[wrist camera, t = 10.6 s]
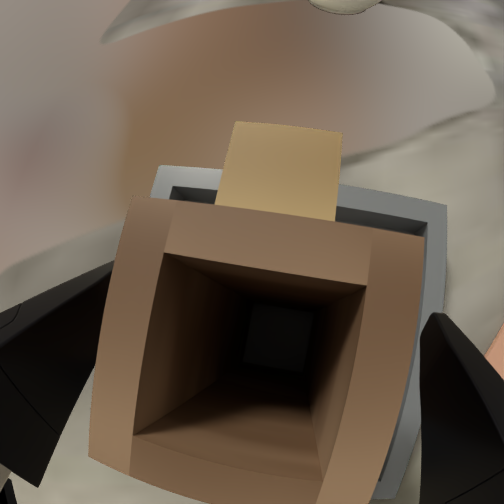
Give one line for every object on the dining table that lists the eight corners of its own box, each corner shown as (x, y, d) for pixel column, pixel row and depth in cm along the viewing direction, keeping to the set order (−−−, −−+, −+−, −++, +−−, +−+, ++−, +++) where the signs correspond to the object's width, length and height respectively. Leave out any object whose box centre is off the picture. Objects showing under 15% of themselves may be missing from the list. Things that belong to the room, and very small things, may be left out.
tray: (381, 476, 14) (394, 498, 11) (130, 427, 17) (105, 440, 14) (426, 222, 17) (446, 205, 14) (176, 186, 20) (159, 165, 17)
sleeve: (316, 390, 15) (359, 523, 4) (222, 373, 16) (88, 456, 4) (338, 264, 16) (422, 142, 5) (246, 250, 17) (161, 113, 6)
